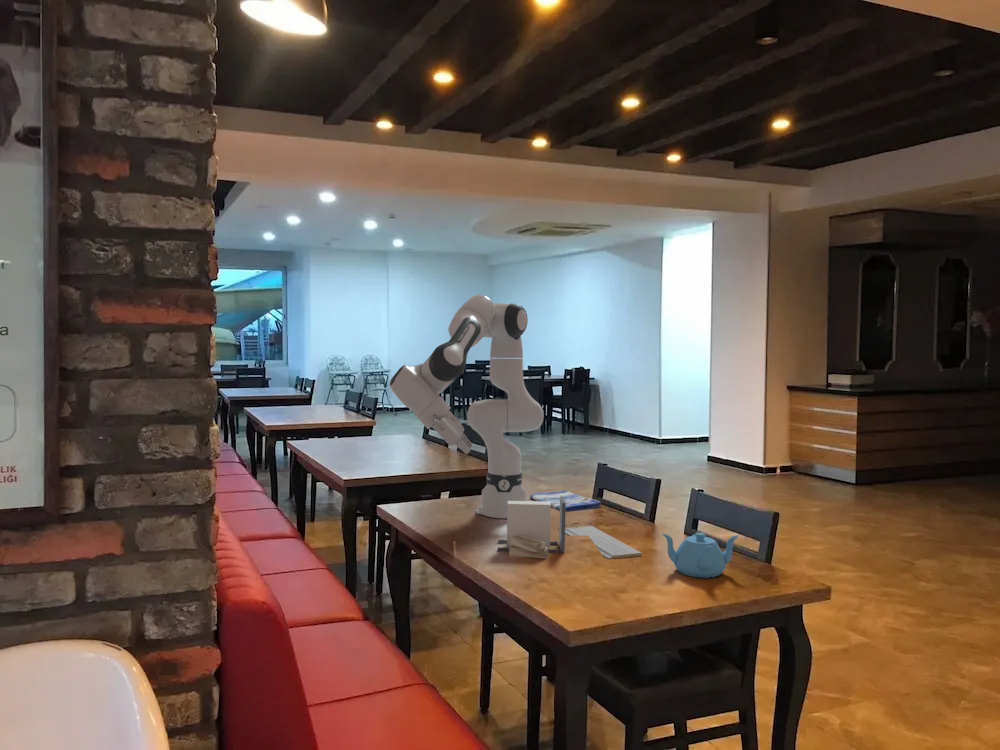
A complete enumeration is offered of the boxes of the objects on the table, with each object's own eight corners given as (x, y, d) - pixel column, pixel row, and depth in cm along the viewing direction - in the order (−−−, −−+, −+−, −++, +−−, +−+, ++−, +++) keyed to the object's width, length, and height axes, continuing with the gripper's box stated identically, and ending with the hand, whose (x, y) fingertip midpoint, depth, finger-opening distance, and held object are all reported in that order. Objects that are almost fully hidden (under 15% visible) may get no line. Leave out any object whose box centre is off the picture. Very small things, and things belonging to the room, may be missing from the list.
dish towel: (566, 495, 296) (567, 488, 295) (603, 508, 275) (603, 500, 275) (527, 499, 287) (528, 492, 287) (562, 513, 267) (562, 505, 266)
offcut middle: (512, 551, 213) (512, 543, 213) (547, 554, 210) (548, 547, 210) (509, 555, 209) (509, 547, 209) (545, 558, 207) (545, 551, 206)
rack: (498, 546, 222) (499, 495, 221) (562, 548, 222) (563, 496, 221) (497, 555, 213) (498, 501, 212) (564, 556, 213) (565, 503, 212)
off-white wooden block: (506, 549, 219) (507, 500, 219) (548, 550, 219) (550, 501, 218) (506, 553, 216) (507, 503, 215) (549, 554, 215) (550, 504, 214)
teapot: (692, 560, 212) (693, 523, 211) (741, 573, 201) (742, 534, 200) (659, 571, 202) (660, 532, 202) (709, 585, 191) (711, 544, 190)
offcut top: (520, 542, 214) (520, 535, 214) (545, 549, 208) (545, 542, 208) (510, 544, 211) (511, 537, 211) (535, 551, 205) (535, 544, 205)
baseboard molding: (603, 561, 211) (641, 558, 215) (603, 551, 211) (642, 548, 215) (556, 533, 240) (591, 530, 245) (557, 524, 240) (591, 521, 244)
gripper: (440, 409, 205) (476, 447, 206) (446, 403, 226) (479, 437, 226) (423, 426, 206) (459, 463, 206) (431, 418, 226) (464, 452, 226)
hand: (469, 449), depth 216 cm, fingers open, 8 cm apart
